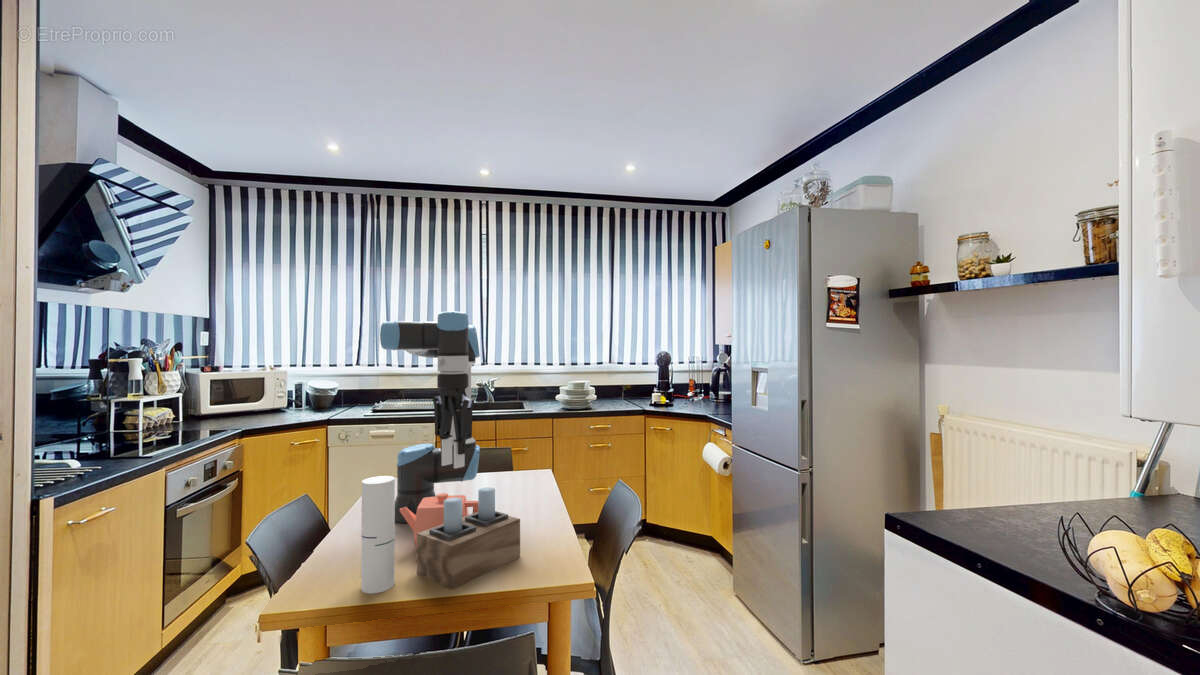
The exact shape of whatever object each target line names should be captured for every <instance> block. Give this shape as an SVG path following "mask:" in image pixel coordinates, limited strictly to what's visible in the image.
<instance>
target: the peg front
mask: <svg viewBox="0 0 1200 675" xmlns="http://www.w3.org/2000/svg"><path fill="white" fill-rule="evenodd" d="M459 531H462V499H461V498H448V499H446V500H444V533H447V534H450V535H451V534H454V533H457V532H459Z"/></svg>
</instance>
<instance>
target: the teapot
mask: <svg viewBox="0 0 1200 675" xmlns="http://www.w3.org/2000/svg"><path fill="white" fill-rule="evenodd" d="M435 495H436V497H425V498H423V499H422V501H421V502H420V504H419V506H418V508H417V513H416V515H415V514H414V513H413V512H411V511H410V510H409V509H408V508H407V507H404V508H400V512H401V514H402V515H403V517H404V518H405V520H406V521H407V523H406V524H407V525H409V527H410V528H411V530H412V531H413V540H414V546H415V547H416V548H417V533H419V532H422V531H425V530H428V529H430V528H433V527H436V526H439V525H442V524H444V500H446V499H448V498H461V499H462V517H465V516H467V515H469V510H468V508H472V514H473V513H476V512H478V500H467V497H466V495H464V494H462V495H461V494H459V495H458V494H457V495H449V494H448V493H446V492H444V493H443V492H442V493H438V494H435Z"/></svg>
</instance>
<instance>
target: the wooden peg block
mask: <svg viewBox="0 0 1200 675" xmlns="http://www.w3.org/2000/svg"><path fill="white" fill-rule="evenodd" d="M520 557H521V518H518V517H515V516H510V515H509V514H508V513H504V512H499V511H496V510H495V518H494V519H491V520H488V521H483V520H479V519H478V512H476V513H473V512H472V513H470V514H468V515H467V516H465V517H462V531H459V532H457V533H454V534H451V535H450V534H447V533H444V524H442V525H439V526H436V527H433V528H430V529H428V530H425V531H422V532H419V533H417V547H416V574H417V575H419V576H421V577H424V578H426V579H428V580H431V581H432V582H435V583H437V584H439V585H442V586H443V587H446V588H448V589H451V590H454V589H456V588H459V587H462V585H465V584H467V583H469V582H471V581H473V580H476V579H477V578H479V577H481V576H483V575H485V574H487V573H489V572H491V571H493V570H495V569H497V568H500V567H502V566H504V565H505V564H508V563H509V562H512V561H513V560H516V559H518V558H520Z"/></svg>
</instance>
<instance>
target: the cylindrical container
mask: <svg viewBox="0 0 1200 675" xmlns="http://www.w3.org/2000/svg"><path fill="white" fill-rule="evenodd" d="M395 479H396V478H395V476H391V475H378V476H372V477H368V478H365V479H363V480H361V556H360V558H361V562H360V563H361V567H360V568H361V573H360V574H361V582H360V584H361V586H360V587H361V588H360V590H361V592H362V593H364V594H371V595H372V594H378V593H379V594H380V593H382V592H385V591H388V590H390V589H391V588H392V587H394V585H395V572H396V571H395V567H396V566H395V543H396V542H395V540H396V539H395V536H396V535H395V534H396V533H395V532H396V529H395V525H396V524H395V523H396V522H395V500H396V490H395V489H396V488H395V487H396V480H395Z"/></svg>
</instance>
